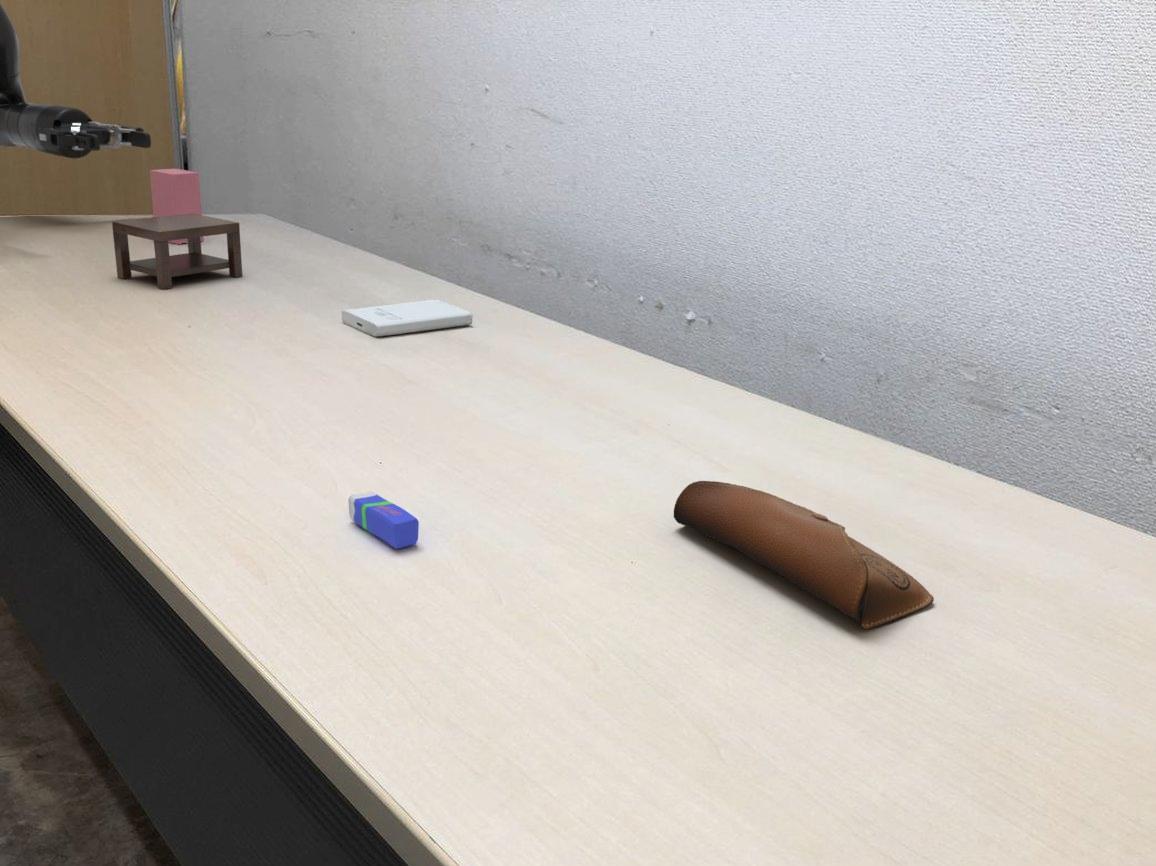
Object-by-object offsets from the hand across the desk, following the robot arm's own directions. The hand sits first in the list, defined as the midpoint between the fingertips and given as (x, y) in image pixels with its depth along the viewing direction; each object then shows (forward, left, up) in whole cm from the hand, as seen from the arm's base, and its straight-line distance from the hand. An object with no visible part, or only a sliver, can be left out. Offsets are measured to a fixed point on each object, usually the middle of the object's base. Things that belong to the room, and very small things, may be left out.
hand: (123, 142), depth 167 cm
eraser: (-38, -114, -13) cm, 121 cm away
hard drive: (-1, -69, -13) cm, 70 cm away
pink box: (+2, -11, -13) cm, 17 cm away
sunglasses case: (-20, -136, -13) cm, 138 cm away
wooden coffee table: (-10, -34, -13) cm, 38 cm away
